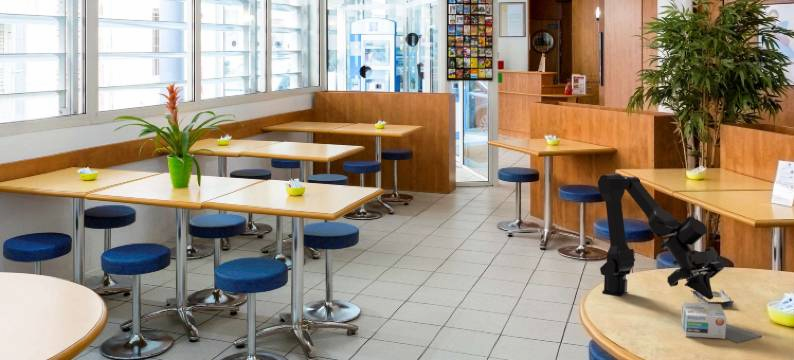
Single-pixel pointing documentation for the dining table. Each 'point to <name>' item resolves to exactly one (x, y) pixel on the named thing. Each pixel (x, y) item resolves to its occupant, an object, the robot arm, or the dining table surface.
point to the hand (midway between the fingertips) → (711, 298)
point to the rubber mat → (739, 334)
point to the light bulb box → (703, 320)
